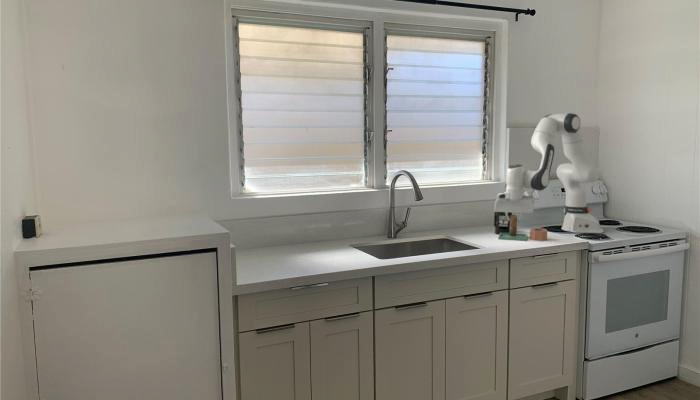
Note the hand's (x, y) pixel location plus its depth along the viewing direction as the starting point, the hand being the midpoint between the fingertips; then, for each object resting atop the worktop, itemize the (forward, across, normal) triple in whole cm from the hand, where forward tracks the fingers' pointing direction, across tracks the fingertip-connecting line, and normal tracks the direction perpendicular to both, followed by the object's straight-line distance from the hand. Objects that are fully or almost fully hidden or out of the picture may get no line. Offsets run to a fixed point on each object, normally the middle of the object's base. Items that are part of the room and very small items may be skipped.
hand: (513, 220), depth 285 cm
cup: (+10, -13, 0) cm, 16 cm away
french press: (+10, +7, -16) cm, 21 cm away
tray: (+10, 0, 0) cm, 10 cm away
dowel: (+8, 0, 0) cm, 8 cm away
